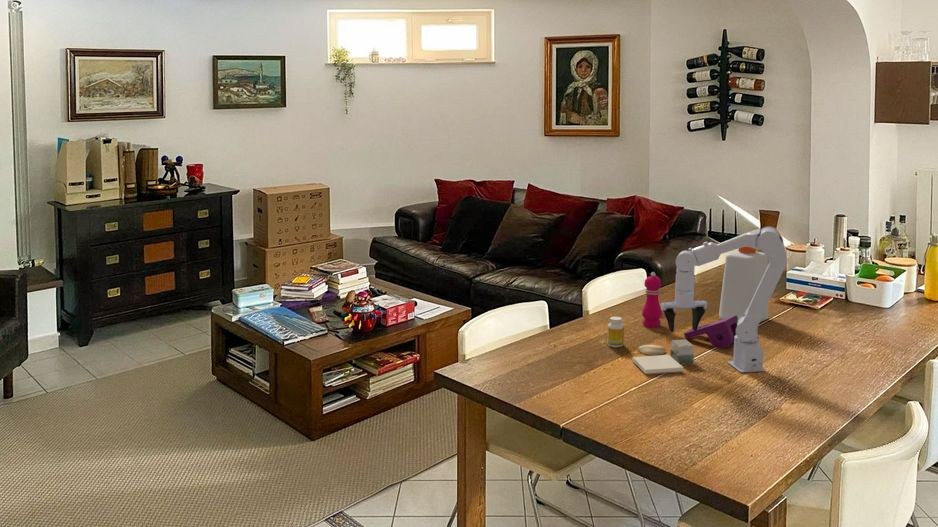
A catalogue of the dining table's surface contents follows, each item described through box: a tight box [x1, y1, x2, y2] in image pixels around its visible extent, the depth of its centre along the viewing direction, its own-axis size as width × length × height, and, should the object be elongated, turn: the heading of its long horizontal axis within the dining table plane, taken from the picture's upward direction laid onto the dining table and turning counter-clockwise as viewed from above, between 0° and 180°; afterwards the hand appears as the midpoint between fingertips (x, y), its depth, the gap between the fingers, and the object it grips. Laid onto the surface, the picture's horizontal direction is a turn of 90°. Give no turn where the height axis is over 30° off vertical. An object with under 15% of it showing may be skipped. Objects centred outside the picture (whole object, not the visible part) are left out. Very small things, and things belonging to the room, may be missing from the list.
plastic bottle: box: [718, 246, 770, 323], centre depth 301 cm, size 15×15×28 cm
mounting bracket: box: [683, 315, 738, 349], centre depth 278 cm, size 10×8×18 cm
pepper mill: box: [641, 271, 663, 328], centre depth 296 cm, size 7×7×20 cm
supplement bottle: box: [606, 316, 625, 348], centre depth 276 cm, size 5×5×10 cm
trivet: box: [632, 354, 684, 376], centre depth 254 cm, size 12×12×2 cm
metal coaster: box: [637, 344, 667, 356], centre depth 270 cm, size 9×9×1 cm
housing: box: [669, 338, 695, 366], centre depth 260 cm, size 7×5×6 cm
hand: (683, 330), depth 258 cm, fingers open, 7 cm apart
